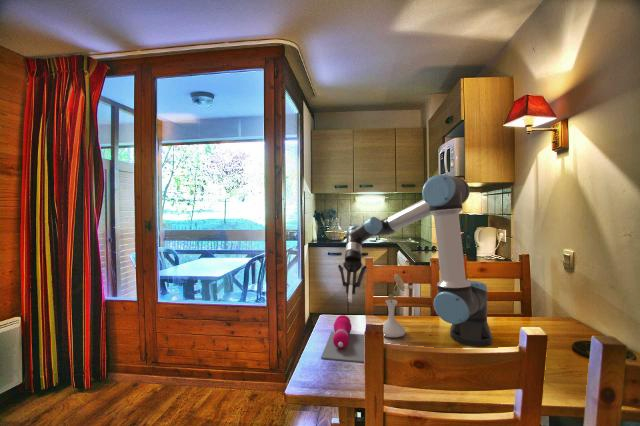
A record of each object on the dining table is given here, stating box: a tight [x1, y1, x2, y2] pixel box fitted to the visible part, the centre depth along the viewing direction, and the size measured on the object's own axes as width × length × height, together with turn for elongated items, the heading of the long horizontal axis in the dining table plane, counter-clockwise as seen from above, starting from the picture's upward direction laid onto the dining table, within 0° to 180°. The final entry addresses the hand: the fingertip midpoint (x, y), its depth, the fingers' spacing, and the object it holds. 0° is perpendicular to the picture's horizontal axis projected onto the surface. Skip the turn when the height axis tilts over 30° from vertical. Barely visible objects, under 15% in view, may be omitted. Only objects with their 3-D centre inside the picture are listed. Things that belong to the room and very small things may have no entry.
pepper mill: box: [333, 314, 352, 349], centre depth 118 cm, size 7×7×20 cm
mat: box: [320, 331, 365, 364], centre depth 114 cm, size 22×16×1 cm
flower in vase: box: [381, 273, 407, 338], centre depth 126 cm, size 13×11×25 cm
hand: (349, 300), depth 125 cm, fingers closed
